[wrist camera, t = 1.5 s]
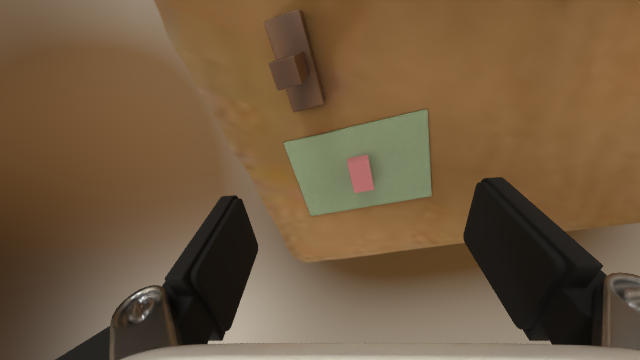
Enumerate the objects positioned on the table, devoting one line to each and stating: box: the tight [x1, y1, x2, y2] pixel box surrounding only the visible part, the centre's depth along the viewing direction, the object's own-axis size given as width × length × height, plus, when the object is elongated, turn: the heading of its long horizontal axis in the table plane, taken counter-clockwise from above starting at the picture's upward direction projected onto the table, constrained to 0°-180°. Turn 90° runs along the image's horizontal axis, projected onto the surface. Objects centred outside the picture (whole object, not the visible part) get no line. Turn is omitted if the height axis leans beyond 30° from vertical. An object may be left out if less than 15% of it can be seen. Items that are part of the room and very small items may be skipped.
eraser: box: [347, 155, 374, 193], centre depth 36 cm, size 3×5×2 cm, turn 16°
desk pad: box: [284, 109, 432, 216], centre depth 37 cm, size 20×14×1 cm
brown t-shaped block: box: [264, 9, 325, 112], centre depth 26 cm, size 4×10×8 cm, turn 15°
